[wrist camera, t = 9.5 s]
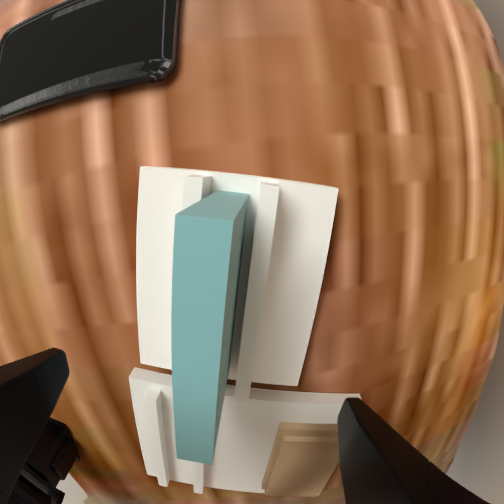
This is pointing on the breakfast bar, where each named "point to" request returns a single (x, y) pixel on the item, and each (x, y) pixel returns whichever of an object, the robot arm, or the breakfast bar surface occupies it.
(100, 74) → the phone
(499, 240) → the breakfast bar surface
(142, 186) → the storage stand
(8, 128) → the breakfast bar surface
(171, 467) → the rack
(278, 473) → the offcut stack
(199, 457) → the teal rectangular slab
